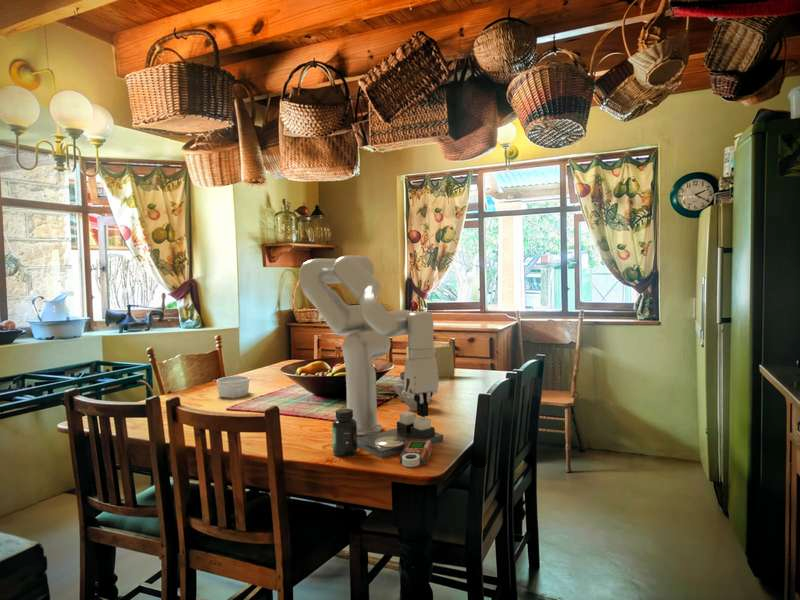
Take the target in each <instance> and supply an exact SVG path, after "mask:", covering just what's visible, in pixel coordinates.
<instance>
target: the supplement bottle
mask: <svg viewBox="0 0 800 600" xmlns="http://www.w3.org/2000/svg"><path fill="white" fill-rule="evenodd" d="M331 426H332V427H331V428H332V431H331V432H332V452H333V455H334V456H336V457H342V458H344V457H345V458H347V457H352V456H354V455H356V454H357V453H358V446H357V438H358V435H357V422H356V421H355V420H354V419H353V410H352V409H347V408H339V409H337V410H335V419H334V420H333V422H332V424H331Z"/></svg>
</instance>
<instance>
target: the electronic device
mask: <svg viewBox="0 0 800 600" xmlns="http://www.w3.org/2000/svg"><path fill="white" fill-rule="evenodd" d="M433 447H434V446H433V444H432V440H431V439H409V440H408V442H407V444H406V446H405V447H404V449H403V451H402V453H399V457H398V458H399V464H401V463H402V464H401V465H402V466H403V467H406V468H414V467H417V466H425V464H426V463H427V460H428V458H429V457H430V455H431V452H432V449H433Z"/></svg>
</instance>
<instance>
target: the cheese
mask: <svg viewBox="0 0 800 600" xmlns="http://www.w3.org/2000/svg"><path fill="white" fill-rule="evenodd" d="M434 348H436V352H434V357H435V358H436V362H437V368H438V378H439V379H441V378H442V379H443V378H454V377H455V359H454V351H453V346H451V345H449V344H444V345H434ZM405 349H406V359H409V356H408V346H406V348H405Z"/></svg>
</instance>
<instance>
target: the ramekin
mask: <svg viewBox="0 0 800 600" xmlns="http://www.w3.org/2000/svg"><path fill="white" fill-rule="evenodd" d="M249 384H250V377H249V376H245V375H231V376H225V377H221V378H217V379H216V385H217V390H218V396H219V397H221V398H222V397H227V398H226V399H233V398H232V397H238V398H242V397H245V396H247V395H248V393H249V388H250V387H249V386H250V385H249ZM246 394H247V395H246ZM244 395H245V396H244ZM241 396H242V397H241Z"/></svg>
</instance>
